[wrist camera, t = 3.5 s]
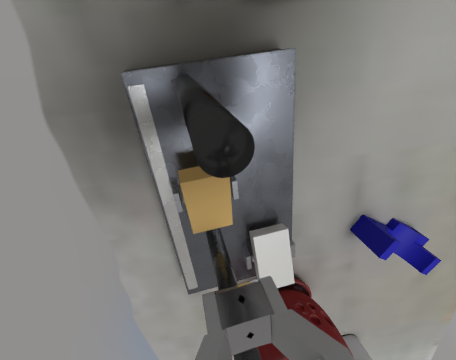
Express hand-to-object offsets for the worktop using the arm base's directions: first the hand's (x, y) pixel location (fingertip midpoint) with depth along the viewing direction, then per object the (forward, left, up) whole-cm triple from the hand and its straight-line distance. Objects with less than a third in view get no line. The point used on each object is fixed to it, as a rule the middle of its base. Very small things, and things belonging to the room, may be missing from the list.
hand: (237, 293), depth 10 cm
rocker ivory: (+13, +6, -13) cm, 19 cm away
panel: (+5, +3, -17) cm, 18 cm away
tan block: (+3, 0, -13) cm, 13 cm away
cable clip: (+19, +27, -18) cm, 37 cm away
